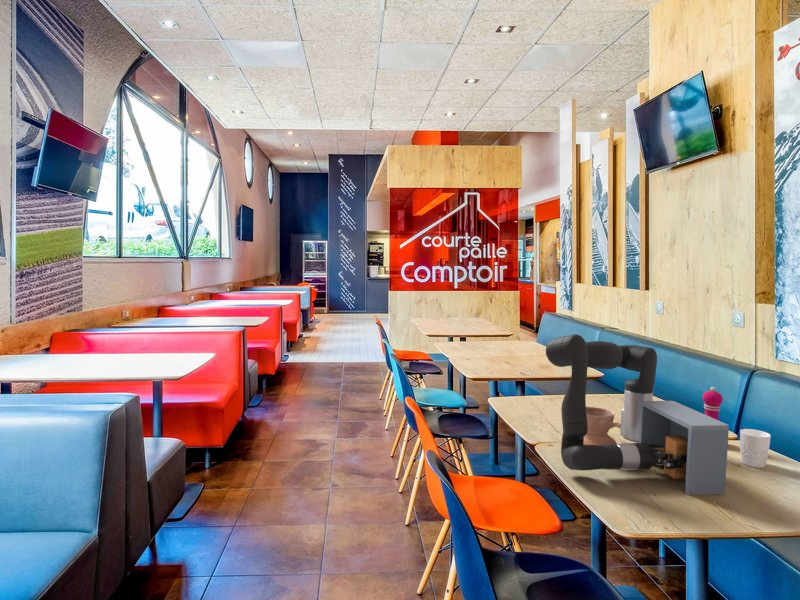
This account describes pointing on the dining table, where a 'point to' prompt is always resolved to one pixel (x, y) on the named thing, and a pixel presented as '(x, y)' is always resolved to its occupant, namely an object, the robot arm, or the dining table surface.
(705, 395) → the pepper mill
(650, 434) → the grey cubby
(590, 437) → the ceramic jug
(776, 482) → the dining table surface
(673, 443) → the orange block
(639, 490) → the dining table surface
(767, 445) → the white cup
